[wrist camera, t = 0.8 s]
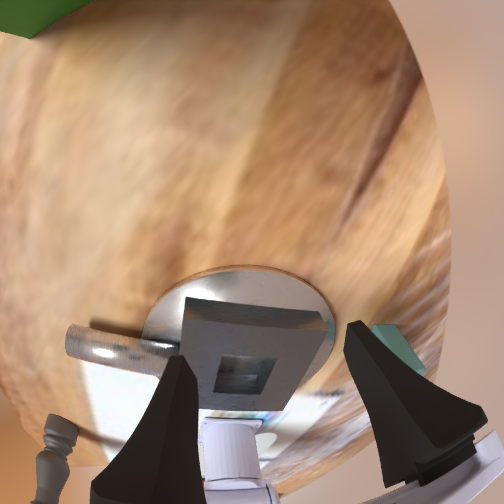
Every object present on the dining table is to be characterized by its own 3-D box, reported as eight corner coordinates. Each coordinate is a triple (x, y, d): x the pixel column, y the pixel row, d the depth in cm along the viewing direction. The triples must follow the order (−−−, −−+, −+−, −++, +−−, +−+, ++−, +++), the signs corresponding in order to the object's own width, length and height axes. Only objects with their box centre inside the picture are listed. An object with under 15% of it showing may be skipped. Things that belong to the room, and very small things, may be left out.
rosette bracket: (295, 399, 30) (303, 424, 27) (94, 378, 25) (86, 404, 21) (361, 279, 23) (382, 306, 19) (69, 235, 18) (45, 259, 14)
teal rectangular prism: (378, 350, 28) (404, 394, 22) (358, 351, 27) (383, 398, 21) (394, 324, 26) (425, 368, 20) (374, 324, 26) (406, 372, 19)
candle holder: (68, 432, 32) (52, 540, 10) (43, 415, 30) (19, 527, 7) (85, 431, 32) (69, 550, 9) (57, 412, 29) (32, 537, 7)
